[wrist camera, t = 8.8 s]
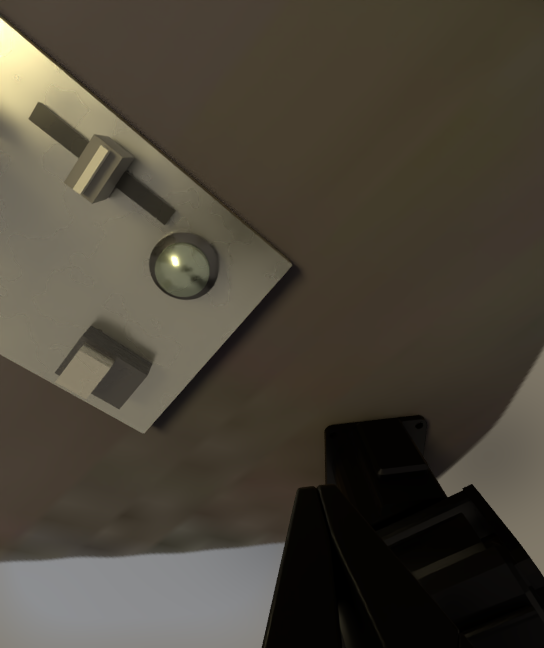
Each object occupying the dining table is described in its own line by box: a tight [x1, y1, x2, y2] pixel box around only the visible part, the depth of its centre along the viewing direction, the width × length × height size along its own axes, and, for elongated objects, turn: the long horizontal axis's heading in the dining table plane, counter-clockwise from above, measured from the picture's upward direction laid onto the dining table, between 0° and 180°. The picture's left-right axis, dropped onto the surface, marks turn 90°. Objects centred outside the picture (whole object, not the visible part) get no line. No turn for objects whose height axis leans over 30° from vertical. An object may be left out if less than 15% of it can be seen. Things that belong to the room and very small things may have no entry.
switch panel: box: [0, 14, 292, 434], centre depth 16 cm, size 20×13×4 cm, turn 49°
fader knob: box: [64, 134, 135, 204], centre depth 15 cm, size 1×2×2 cm, turn 140°
